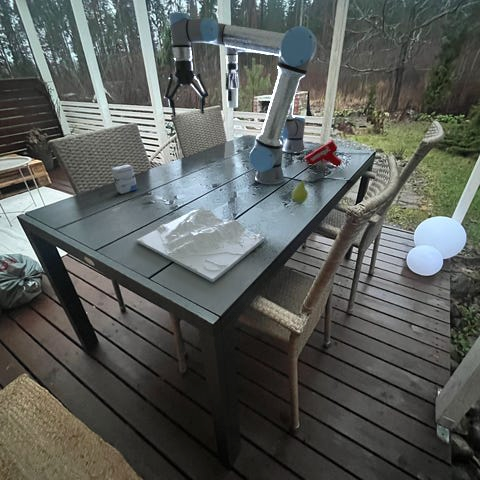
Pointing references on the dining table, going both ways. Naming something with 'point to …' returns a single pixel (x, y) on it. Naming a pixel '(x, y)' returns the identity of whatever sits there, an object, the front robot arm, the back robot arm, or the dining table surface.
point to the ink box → (124, 178)
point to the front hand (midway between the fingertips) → (188, 114)
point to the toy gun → (324, 155)
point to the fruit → (300, 192)
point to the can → (233, 98)
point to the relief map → (202, 243)
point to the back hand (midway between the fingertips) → (232, 100)
